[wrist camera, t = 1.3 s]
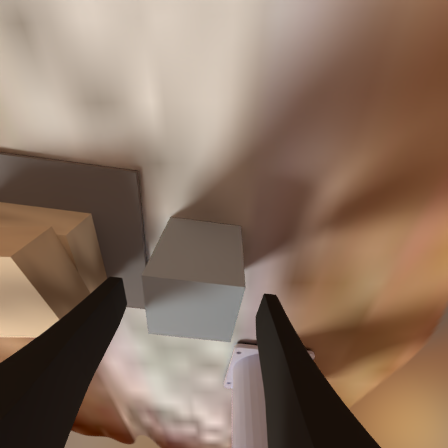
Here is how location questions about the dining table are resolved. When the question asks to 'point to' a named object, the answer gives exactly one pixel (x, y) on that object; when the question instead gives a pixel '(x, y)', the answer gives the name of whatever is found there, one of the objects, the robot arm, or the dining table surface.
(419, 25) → the dining table surface
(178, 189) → the dining table surface
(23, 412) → the robot arm
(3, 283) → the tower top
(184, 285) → the gray block
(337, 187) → the dining table surface
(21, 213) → the tower base
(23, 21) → the dining table surface
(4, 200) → the felt mat
